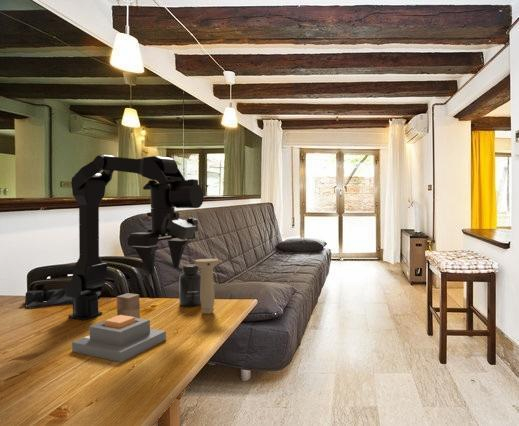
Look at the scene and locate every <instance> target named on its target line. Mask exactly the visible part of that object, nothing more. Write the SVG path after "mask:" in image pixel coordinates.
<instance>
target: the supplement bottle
mask: <svg viewBox="0 0 519 426" xmlns="http://www.w3.org/2000/svg"><path fill="white" fill-rule="evenodd" d="M199 271H200V270H199V267H198V266H196V265H195V263H188V264H183V265H182V270H181V272H183V273H181V274H180V275H179V279H178V282H179V283H178V284H179V286H178V287H179V288H178V290H179V295H178V296H179V297H178V298H179V305H180V306H182V307H189V308H190V307H197V306H200V305H201V299H200V298H201V297H200V286H201V273H199Z"/></svg>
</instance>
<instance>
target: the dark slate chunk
mask: <svg viewBox="0 0 519 426" xmlns="http://www.w3.org/2000/svg"><path fill="white" fill-rule="evenodd" d="M96 293H97V298H98V297H99V296H101V295H102V291H101V292H96ZM43 301H47V302H43ZM68 303H70V304H71V303H72V304H73V301H72V297H67V296H66V293H65V288H59V289H49V290H48V289H47V290H45V291H44V290H28V291H26V293H25V301H24V306H25V305H27V306H25V307H26V308H25V309H31V308H30V307H36V308H43V307H42V306H48V307H52V306H51V305H55V306H56V305H57V306H60V305H59V304H62V305H69V304H68Z"/></svg>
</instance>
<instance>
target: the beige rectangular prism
mask: <svg viewBox="0 0 519 426" xmlns="http://www.w3.org/2000/svg"><path fill="white" fill-rule="evenodd" d="M140 304H141V303H140V294H137V293H129V292H127V293H124V294H120V295H117V296H116V313H117V315H116V316H118V315H125V316H131V317H135V318H140V319H141V313H140V312H141V311H140V309H141V308H140V307H141V306H140Z"/></svg>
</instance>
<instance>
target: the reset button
mask: <svg viewBox="0 0 519 426" xmlns="http://www.w3.org/2000/svg"><path fill="white" fill-rule="evenodd" d="M103 321H104V322H105V326H106V327H112V328H117V329H122V328H124V327H126V326H129V325H131V324H134V323H135V317H131V316H125V315H118V316H117V315H115V316H112V317H110V318H108V319H105V320H103Z"/></svg>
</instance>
